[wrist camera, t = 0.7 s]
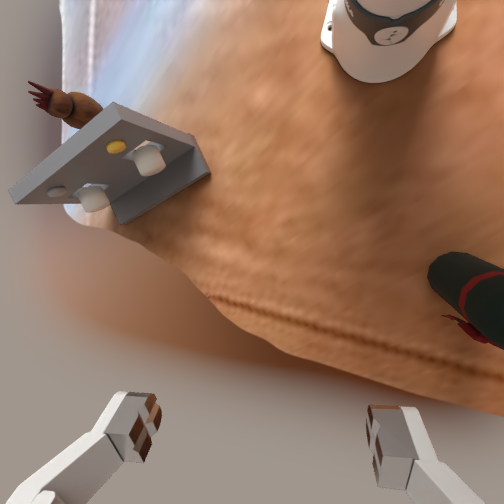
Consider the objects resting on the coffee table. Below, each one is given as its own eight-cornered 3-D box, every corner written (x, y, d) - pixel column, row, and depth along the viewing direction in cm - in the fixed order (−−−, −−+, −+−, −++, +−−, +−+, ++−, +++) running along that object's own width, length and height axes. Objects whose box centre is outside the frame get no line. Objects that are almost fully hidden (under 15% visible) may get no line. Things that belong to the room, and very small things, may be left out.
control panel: (211, 172, 55) (139, 157, 35) (126, 224, 63) (30, 235, 43) (193, 135, 55) (111, 99, 35) (111, 192, 63) (7, 188, 43)
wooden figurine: (100, 95, 59) (26, 63, 45) (114, 118, 59) (45, 93, 45) (82, 116, 62) (6, 91, 48) (95, 138, 62) (23, 120, 48)
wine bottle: (412, 298, 48) (517, 437, 20) (440, 244, 45) (607, 317, 17) (461, 317, 46) (650, 497, 18) (493, 261, 44) (773, 374, 16)
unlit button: (114, 201, 52) (95, 201, 48) (99, 211, 54) (79, 212, 50) (107, 186, 52) (87, 185, 48) (92, 196, 54) (71, 196, 50)
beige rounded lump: (170, 164, 48) (154, 161, 43) (152, 177, 49) (134, 175, 45) (162, 147, 48) (145, 142, 43) (144, 160, 49) (126, 157, 45)
